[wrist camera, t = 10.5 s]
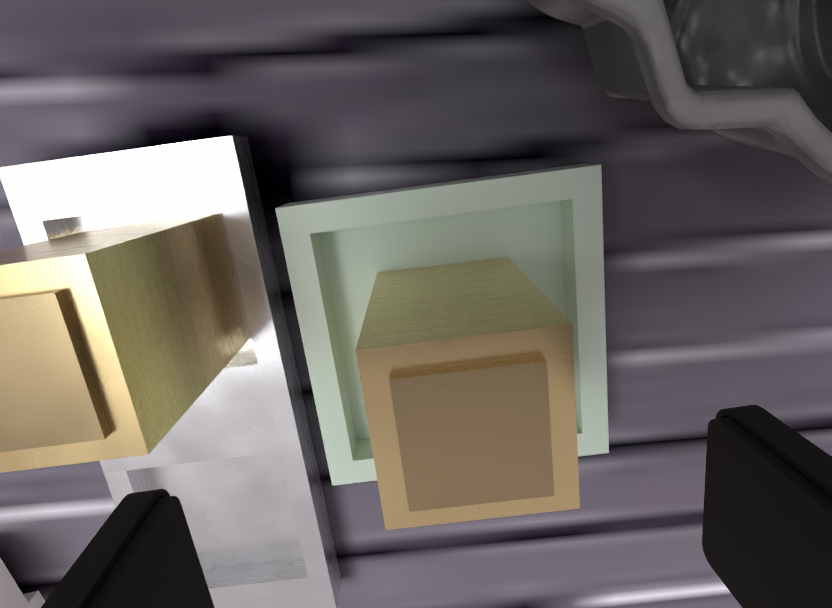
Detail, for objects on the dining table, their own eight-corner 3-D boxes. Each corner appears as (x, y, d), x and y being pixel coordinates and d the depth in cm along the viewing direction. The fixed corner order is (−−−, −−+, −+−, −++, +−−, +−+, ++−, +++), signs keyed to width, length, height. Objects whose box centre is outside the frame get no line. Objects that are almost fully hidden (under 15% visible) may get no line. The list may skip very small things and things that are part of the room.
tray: (288, 203, 19) (275, 208, 17) (581, 163, 19) (601, 164, 17) (339, 457, 22) (332, 485, 20) (591, 426, 22) (608, 452, 20)
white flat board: (32, 166, 19) (-4, 167, 17) (247, 137, 18) (231, 135, 17) (175, 597, 24) (159, 629, 23) (341, 578, 24) (336, 609, 22)
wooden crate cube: (377, 272, 19) (354, 355, 11) (508, 256, 19) (576, 328, 11) (394, 391, 21) (385, 538, 13) (516, 377, 21) (583, 516, 13)
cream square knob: (85, 230, 19) (-153, 287, 11) (218, 213, 19) (76, 256, 11) (125, 355, 20) (-61, 486, 12) (248, 339, 20) (142, 461, 12)
